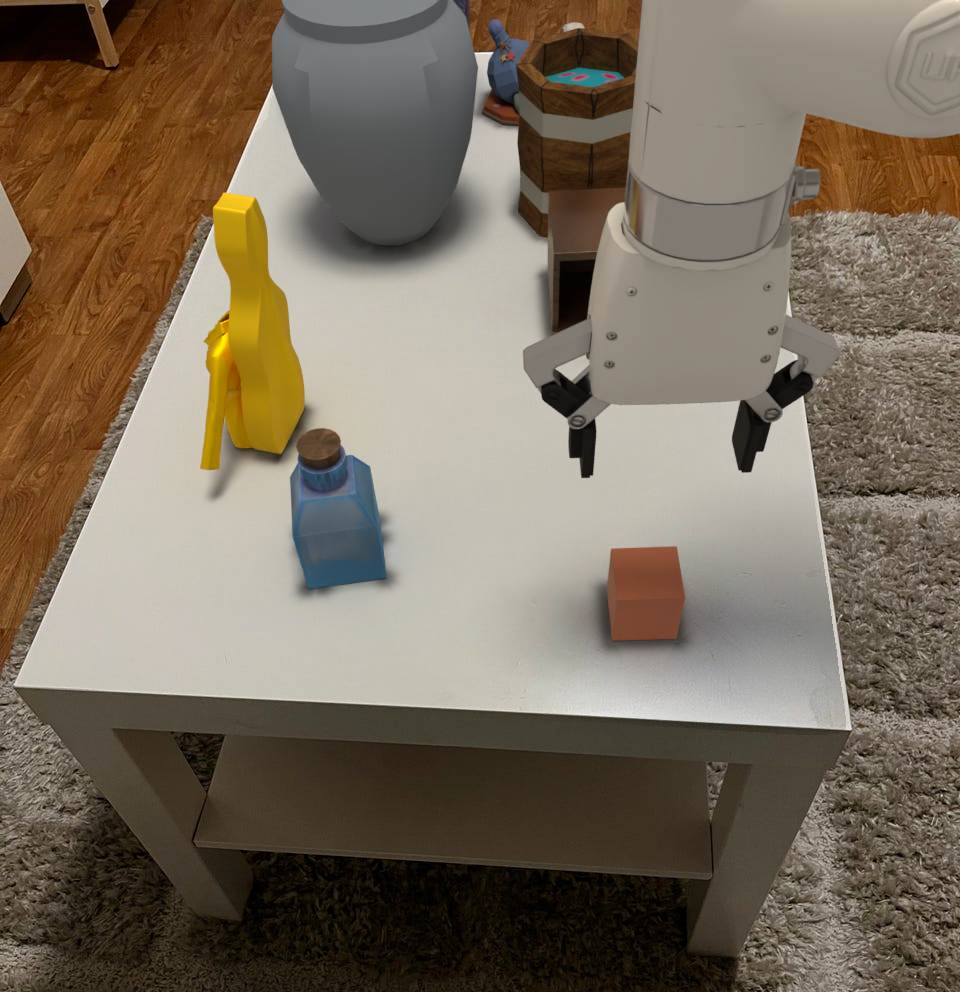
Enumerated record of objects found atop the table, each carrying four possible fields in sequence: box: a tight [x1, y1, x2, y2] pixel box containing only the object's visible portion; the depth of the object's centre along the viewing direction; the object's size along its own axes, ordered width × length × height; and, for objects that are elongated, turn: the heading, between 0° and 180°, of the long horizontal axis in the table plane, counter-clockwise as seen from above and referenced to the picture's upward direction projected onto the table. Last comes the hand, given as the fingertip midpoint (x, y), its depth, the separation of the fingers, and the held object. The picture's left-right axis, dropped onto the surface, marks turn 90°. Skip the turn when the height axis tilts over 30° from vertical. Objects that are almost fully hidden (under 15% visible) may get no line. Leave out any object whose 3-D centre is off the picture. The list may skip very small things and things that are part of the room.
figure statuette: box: [199, 192, 306, 471], centre depth 78 cm, size 18×8×22 cm, turn 166°
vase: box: [271, 0, 479, 246], centre depth 95 cm, size 20×20×24 cm
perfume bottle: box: [289, 427, 388, 590], centre depth 73 cm, size 6×6×12 cm
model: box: [481, 18, 531, 127], centre depth 114 cm, size 12×9×9 cm
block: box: [606, 545, 686, 642], centre depth 71 cm, size 5×5×5 cm
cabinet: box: [546, 187, 626, 336], centre depth 91 cm, size 18×10×9 cm, turn 90°
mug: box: [516, 21, 639, 238], centre depth 101 cm, size 20×14×15 cm
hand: (662, 459), depth 60 cm, fingers open, 9 cm apart
